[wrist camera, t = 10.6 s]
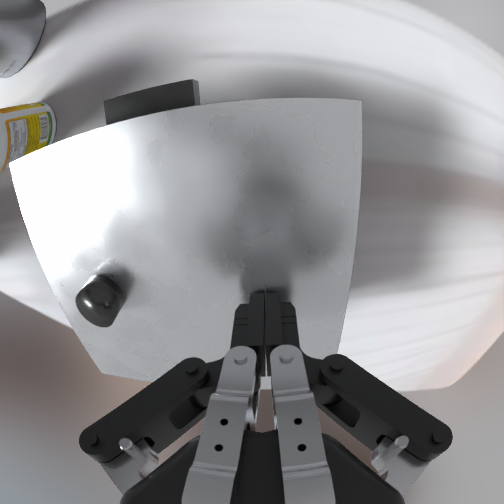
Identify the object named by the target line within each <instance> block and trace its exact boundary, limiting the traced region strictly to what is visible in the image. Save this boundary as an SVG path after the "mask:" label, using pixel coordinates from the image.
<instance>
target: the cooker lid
mask: <svg viewBox="0 0 504 504" xmlns="http://www.w3.org/2000/svg"><path fill="white" fill-rule="evenodd" d="M10 168H11V173H12V177H13V182H14V186H15V190H16V193H17V197H18V201H19V204H20V208H21V211H22V214H23V217H24V221H25V224H26V227H27V230H28V232H29V235H30V238H31V241H32V243H33V246H34V249H35V251H36V254H37V256H38V259H39V261H40V263H41V266H42V268H43V270H44V273H45V275H46V277H47V279H48V281H49V284H50V286H51V288H52V290H53V292H54V294H55V296H56V298H57V300H58V302H59V304H60V306H61V308H62V310H63V311H64V313H65V315H66V317H67V319H68V320H69V322H70V324H71V326H72V327H73V329H74V331H75V333H76V334H77V336H78V337H79V339H80V341H81V342H82V344H83V346H84V347H85V349H86V350H87V352H88V353H89V355H90V356H91V358H92V359H93V361H94V362H95V364H96V365H97V367H98V368H99V369H100V371H101V372H102V373H104V374H109V375H114V376H119V377H125V378H131V379H137V380H143V381H150V382H154V381H155V380H157V379H158V378H159V377H161V376H162V375H163V374H165V373H166V372H168V371H169V370H170V369H172V368H173V367H174V366H176V365H177V364H178V363H180V362H181V361H182V360H184V359H186V358H190V357H197V358H200V359H202V360H203V361H205V363H208V362H213V361H216V360H219V359H221V358H223V357H224V356H225V354H226V353H227V352H228V351H229V350H230V345H231V337H232V330H233V322H234V315H235V310H236V309H237V307H238V306H239V305H240V304H248V303H249V300H250V294H251V293H264V296H265V312H266V293H276V292H280V302H291V303H292V305H293V306H294V307H295V309H296V317H297V326H298V334H299V343H300V348H301V350H302V351H303V352H304V353H305V354H306V355H308V356H310V357H312V358H317V359H322V360H323V359H324V358H325V357H326V356H328V355H332V354H337V352H338V348H339V343H340V338H341V334H342V329H343V324H344V318H345V313H346V308H347V302H348V296H349V290H350V284H351V277H352V270H353V263H354V255H355V247H356V238H357V229H358V218H359V206H360V191H361V172H362V100H350V99H334V98H269V99H252V100H240V101H229V102H220V103H212V104H205V105H198V106H191V107H185V108H179V109H174V110H168V111H163V112H158V113H154V114H149V115H145V116H141V117H136V118H132V119H128V120H125V121H121V122H117V123H114V124H110V125H107V126H103V127H100V128H97V129H94V130H90V131H87V132H84V133H81V134H78V135H76V136H73V137H70V138H67V139H65V140H62V141H59V142H57V143H54V144H52V145H49V146H47V147H44V148H42V149H40V150H37V151H35V152H33V153H31V154H28V155H26V156H24V157H22V158H20V159H18V160H16V161H14V162H12V163H10ZM260 389H271V376H269V377H267V363H266V377H261V387H260Z"/></svg>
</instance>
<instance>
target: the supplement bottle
mask: <svg viewBox="0 0 504 504" xmlns="http://www.w3.org/2000/svg"><path fill="white" fill-rule="evenodd" d="M55 132H56V119H55V115H54V112H53V110H52V109H51V107H50V106H49V105H47V104H46V103H41V102H38V103H31V104H24V105H19V106H13V107H8V108H2V109H0V172H1V171H3V170H5V169H7V168H10V163H12V162H14V161H16V160H18V159H20V158H22V157H24V156H26V155H28V154H31V153H33V152H35V151H37V150H40V149H42V148H44V147H47V146H49V145H51V144H52V142H53V140H54V137H55Z"/></svg>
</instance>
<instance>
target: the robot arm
mask: <svg viewBox="0 0 504 504" xmlns="http://www.w3.org/2000/svg"><path fill="white" fill-rule="evenodd" d="M45 20H46V9H45V6H44V4H43V3H42V2H41V1H40V0H0V78H6V77H10V76H12V75H14V74H16V73H17V72H18V71H19V70H20V69H21V68H22V67H23V66H24V65H25V64H26V62H27V61H28V59H29V58H30V57H31V55H32V53H33V52H34V50H35V48H36V46H37V44H38V42H39V40H40V37H41V35H42V32H43V29H44V25H45ZM266 363H267V377H269V376H271V390H272V401H273V411H274V422H275V430H272V431H269V432H264V433H260V432H256V419H257V411H258V403H259V395H260V387H261V377H266ZM316 405H317V407H319V408H320V409H321V410H322V411H323V412H324V413H326V414H327V415H328V416H329V417H330V418H332V419H333V420H334V421H335V422H336V423H338V424H339V425H340V426H341V427H342V428H344V429H345V430H346V431H347V432H349V433H350V434H351V435H352V436H354V437H355V438H356V439H358V440H359V441H360V442H361V443H363V444H364V445H365V446H367V447H368V448H369V449H371V450H372V451H373V452H372V454H371V463H372V465H373V466H374V467H375V468H376V469H377V471H378V473H379V475H377V474H376V473H375V472H374V471H372V470H371V469H370V468H369V467H368V466H366V465H365V464H364V463H363V462H361V461H360V460H359V459H358V458H357V457H356V456H355V455H353V454H352V453H351V452H350V451H349V450H348V449H346V448H345V447H344V446H343V445H342V444H341V443H340V442H339V441H337V440H336V439H335V438H333V437H331V436H329V435H327V434H325V433H322V432H321V429H320V424H319V419H318V414H317V409H316ZM204 417H205V420H204V424H203V428H202V431H201V435H199V436H197V437H195V438H193V439H192V440H190V441H189V442H187V443H186V444H185V445H184V446H183V447H182V448H180V449H179V450H178V451H177V452H176V453H174V454H173V455H172V456H171V457H170V458H168V459H167V460H166V461H165V462H164V463H162V464H161V465H160V466H159V467H157V468H156V466H157V465H158V461H159V457H158V453H160V452H161V451H162V450H163V449H165V448H166V447H168V446H169V445H170V444H171V443H173V442H174V441H175V440H177V439H178V438H179V437H181V436H182V435H183V434H184V433H185V432H186V431H188V430H189V429H190V428H191V427H193V426H194V425H195V424H196V423H198V422H199V421H200V420H201V419H202V418H204ZM452 438H453V436H452V432H451V429H450V428H449V427H448V426H447V425H446V424H444V423H443V422H441V421H440V420H438V419H436V418H435V417H434V416H432V415H431V414H429V413H427V412H426V411H424V410H423V409H421V408H420V407H418V406H417V405H415V404H414V403H412V402H411V401H409V400H408V399H407V398H405V397H403V396H402V395H401V394H399V393H398V392H396V391H395V390H393V389H392V388H390V387H389V386H387V385H386V384H385V383H383V382H382V381H380V380H379V379H377V378H376V377H374V376H373V375H372V374H370V373H369V372H367V371H366V370H364V369H363V368H362V367H360V366H359V365H357V364H356V363H355V362H353V361H352V360H350V359H349V358H347V357H346V356H344V355H341V354H332V355H328V356H326V357H325V358H324V359H323V360H322V359H317V358H312V357H310V356H308V355H306V354H305V353H304V352H303V351H302V350H301V348H300V343H299V334H298V326H297V317H296V309H295V307H294V306H293V305H292V303H291V302H280V292H276V293H266V312H265V296H264V293H251V294H250V300H249V303H248V304H240V305H239V306H238V307H237V309H236V310H235V315H234V322H233V330H232V337H231V345H230V350H229V351H228V352H227V353H226V354H225V356H224V357H223V358H221V359H219V360H216V361H213V362H208V363H205V361H203V360H202V359H200V358H197V357H190V358H186V359H184V360H182V361H181V362H180V363H178V364H177V365H176V366H174V367H173V368H172V369H170V370H169V371H168V372H166V373H165V374H163V375H162V376H161V377H159V378H158V379H157V380H155V381H154V382H153V383H151V384H150V385H148V386H147V387H146V388H144V389H143V390H141V391H140V392H139V393H137V394H136V395H135V396H133V397H131V398H130V399H129V400H127V401H126V402H124V403H123V404H121V405H120V406H119V407H117V408H116V409H114V410H113V411H111V412H110V413H108V414H107V415H105V416H104V417H102V418H101V419H99V420H98V421H96V422H95V423H94V424H92V425H91V426H89V427H88V428H86V429H85V430H83V432H82V433H81V435H80V438H79V444H80V447H81V449H82V450H83V451H84V452H85V453H86V454H88V455H89V456H91V457H92V458H93V459H94V460H95V461H97V462H98V463H100V464H101V466H102V467H103V469H104V470H105V471H106V472H107V474H108V475H109V477H110V478H111V480H112V481H113V482H114V484H115V485H116V486H117V488H118V489H119V490H120V491H121V493H122V494H123V497H122V499H121V501H120V504H405V502H404V499H403V497H402V496H403V495H404V494H405V493H406V492H407V490H408V489H409V488H410V487H411V485H413V483H414V482H415V481H416V480H417V478H418V477H419V476H420V474H421V473H422V472H423V471H424V469H425V468H426V467H427V465H428V464H429V462H431V461H432V460H434V459H435V458H436V457H437V456H439V455H440V454H442V453H443V452H444V451H446V450H447V449H448V448H449V446H450V445H451V443H452ZM155 468H156V469H155ZM153 469H155V470H154V471H153Z"/></svg>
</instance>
